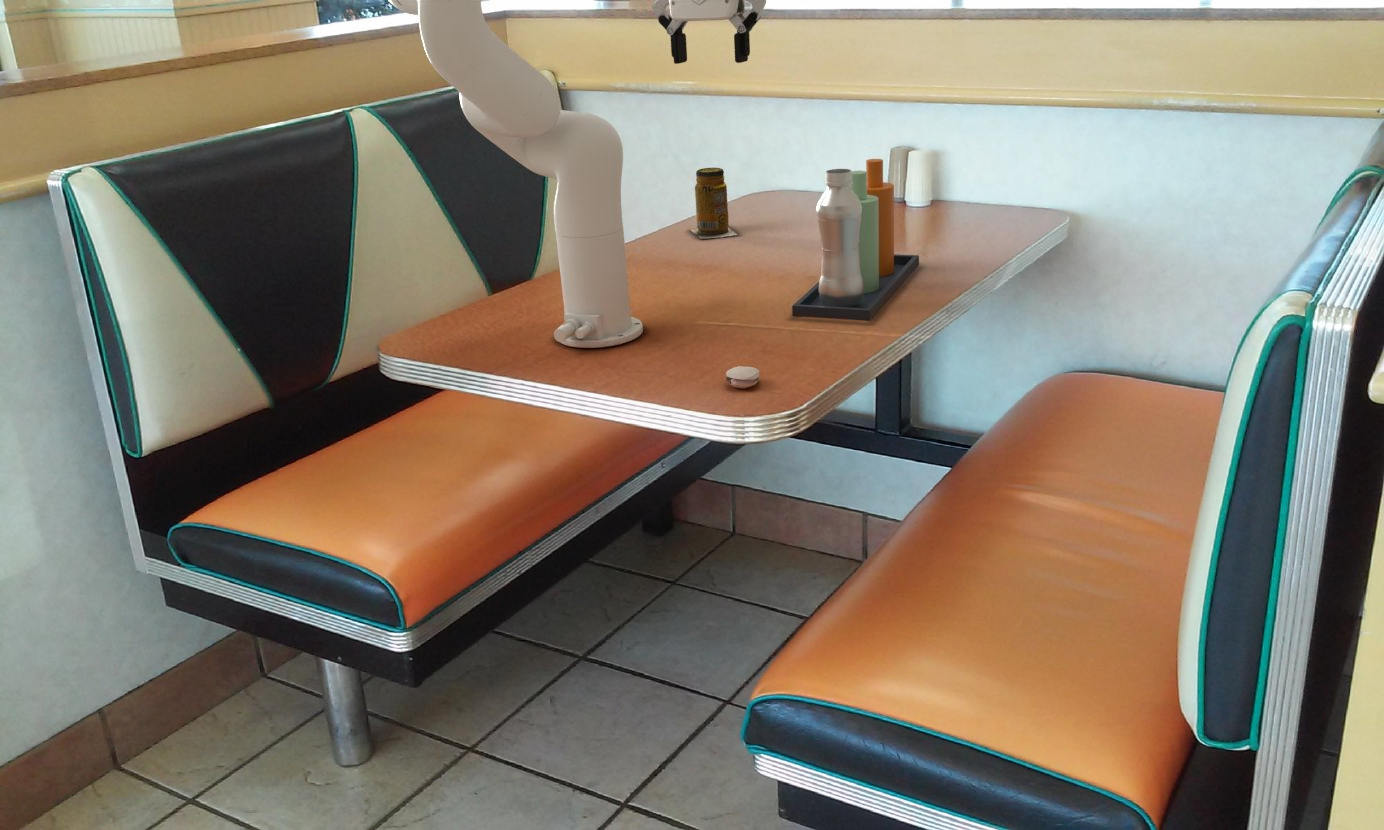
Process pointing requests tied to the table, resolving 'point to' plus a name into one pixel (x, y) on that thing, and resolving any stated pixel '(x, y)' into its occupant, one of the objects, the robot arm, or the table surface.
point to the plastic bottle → (840, 241)
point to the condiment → (711, 204)
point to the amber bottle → (882, 214)
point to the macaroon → (742, 376)
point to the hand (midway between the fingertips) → (710, 62)
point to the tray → (870, 302)
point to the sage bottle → (867, 232)
